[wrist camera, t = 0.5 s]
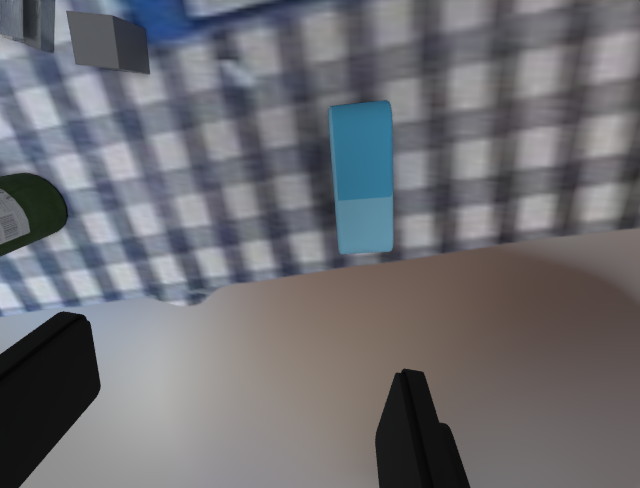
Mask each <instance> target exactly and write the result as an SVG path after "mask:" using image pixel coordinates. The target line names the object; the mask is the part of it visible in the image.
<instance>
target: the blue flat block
mask: <svg viewBox="0 0 640 488" xmlns="http://www.w3.org/2000/svg"><path fill="white" fill-rule="evenodd" d="M328 123H329V137H330V149H331V162H332V174H333V187H334V199H335V212H336V224H337V237H338V248H339V252H340V254H355V253H372V252H389V251H391V250H392V248H393V136H392V110H391V105H390V103H389V101H387V100H384V101H374V102H364V103H355V104H345V105H336V106H330V107H329V109H328Z"/></svg>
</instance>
